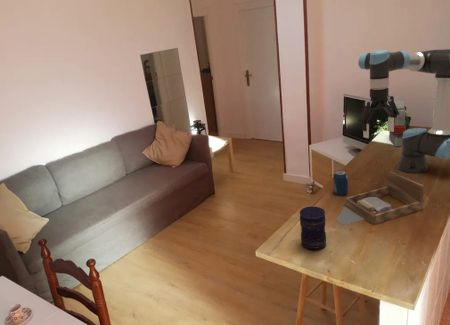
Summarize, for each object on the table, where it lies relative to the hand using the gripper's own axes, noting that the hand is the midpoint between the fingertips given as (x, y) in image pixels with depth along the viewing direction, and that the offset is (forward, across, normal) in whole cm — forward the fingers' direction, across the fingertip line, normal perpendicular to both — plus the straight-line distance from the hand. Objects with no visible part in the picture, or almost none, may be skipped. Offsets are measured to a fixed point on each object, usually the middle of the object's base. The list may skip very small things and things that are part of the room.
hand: (378, 134), depth 157 cm
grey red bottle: (+35, -66, -60) cm, 96 cm away
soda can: (+33, +11, -14) cm, 38 cm away
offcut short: (+30, +14, +9) cm, 35 cm away
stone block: (+32, +2, +8) cm, 33 cm away
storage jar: (+32, +47, +19) cm, 60 cm away
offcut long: (+33, +14, +8) cm, 37 cm away
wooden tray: (+33, +4, +8) cm, 34 cm away
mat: (+33, +23, +5) cm, 40 cm away
